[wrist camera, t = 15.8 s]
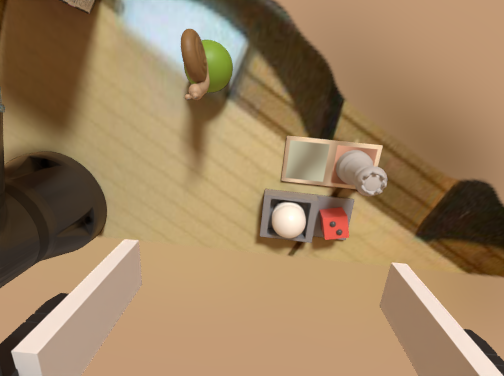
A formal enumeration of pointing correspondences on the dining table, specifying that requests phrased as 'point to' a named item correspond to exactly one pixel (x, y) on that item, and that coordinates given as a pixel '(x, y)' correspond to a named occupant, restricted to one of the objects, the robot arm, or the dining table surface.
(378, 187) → the rook chess piece
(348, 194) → the dining table surface
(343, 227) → the grey compartment tray
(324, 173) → the wooden double picture frame
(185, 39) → the snail figurine
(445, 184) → the dining table surface
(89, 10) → the candy bar box
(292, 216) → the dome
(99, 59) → the dining table surface
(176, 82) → the dining table surface
